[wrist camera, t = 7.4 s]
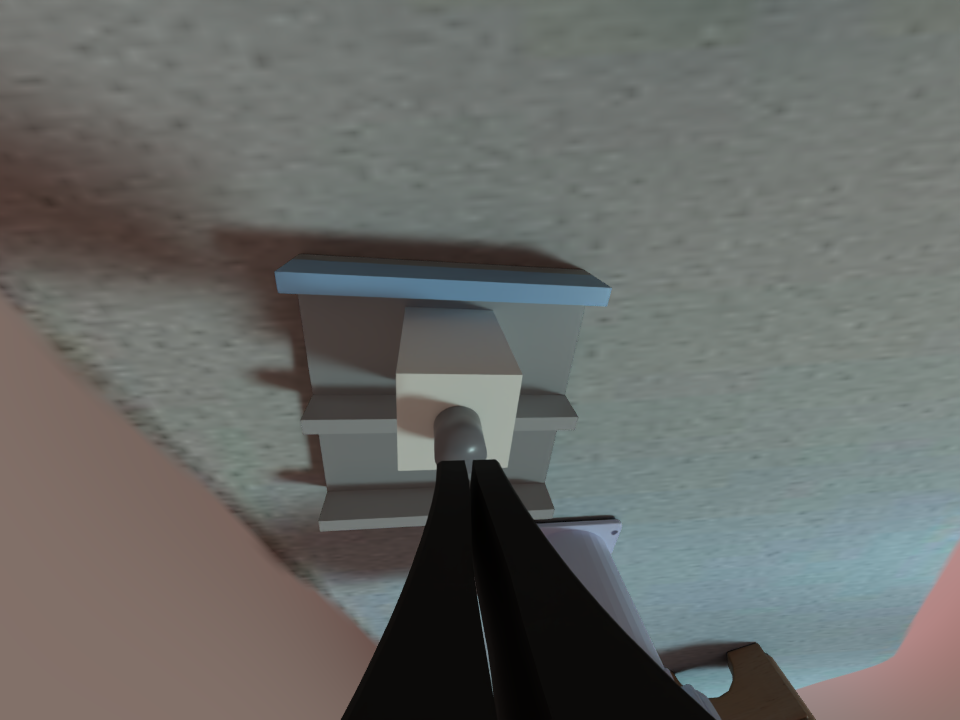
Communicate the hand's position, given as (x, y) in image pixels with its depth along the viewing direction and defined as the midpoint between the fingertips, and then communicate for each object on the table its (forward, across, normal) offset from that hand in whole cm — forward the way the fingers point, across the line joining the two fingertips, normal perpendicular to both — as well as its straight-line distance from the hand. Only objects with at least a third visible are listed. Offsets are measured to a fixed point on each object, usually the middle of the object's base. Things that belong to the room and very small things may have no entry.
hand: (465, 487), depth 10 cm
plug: (+9, 0, 0) cm, 9 cm away
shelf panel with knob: (+10, 0, +3) cm, 10 cm away
